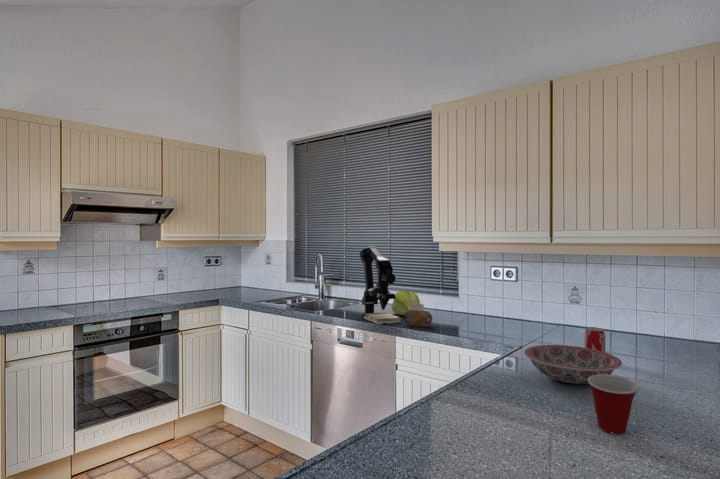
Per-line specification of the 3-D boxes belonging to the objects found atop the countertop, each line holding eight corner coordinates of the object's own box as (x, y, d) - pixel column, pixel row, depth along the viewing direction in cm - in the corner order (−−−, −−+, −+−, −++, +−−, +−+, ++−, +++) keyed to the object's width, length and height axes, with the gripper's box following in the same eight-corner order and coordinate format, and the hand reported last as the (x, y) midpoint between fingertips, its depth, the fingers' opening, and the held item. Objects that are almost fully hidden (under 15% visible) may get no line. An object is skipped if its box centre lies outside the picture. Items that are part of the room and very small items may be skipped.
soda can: (597, 363, 163) (597, 331, 163) (580, 358, 169) (580, 327, 169) (609, 360, 166) (609, 329, 166) (592, 356, 172) (592, 326, 172)
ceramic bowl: (620, 403, 124) (621, 375, 124) (515, 384, 140) (515, 359, 140) (622, 375, 149) (622, 352, 149) (532, 362, 164) (532, 341, 164)
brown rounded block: (403, 325, 232) (403, 309, 232) (406, 324, 235) (406, 308, 235) (430, 328, 225) (430, 311, 225) (432, 326, 228) (432, 310, 228)
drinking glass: (419, 324, 233) (419, 306, 233) (409, 322, 238) (409, 304, 237) (426, 322, 238) (426, 304, 238) (416, 321, 243) (416, 303, 242)
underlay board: (364, 318, 250) (364, 313, 250) (385, 316, 256) (385, 312, 256) (377, 324, 234) (377, 319, 234) (400, 322, 239) (400, 317, 239)
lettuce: (394, 321, 247) (398, 296, 245) (388, 308, 271) (392, 286, 270) (423, 325, 248) (427, 301, 247) (415, 312, 273) (419, 290, 271)
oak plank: (368, 317, 246) (368, 314, 246) (388, 315, 252) (388, 313, 252) (378, 322, 234) (378, 319, 234) (399, 320, 239) (399, 317, 239)
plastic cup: (590, 435, 104) (590, 385, 104) (584, 417, 114) (585, 372, 114) (643, 443, 100) (643, 391, 100) (632, 424, 110) (632, 377, 110)
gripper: (363, 280, 249) (363, 308, 249) (377, 284, 231) (377, 313, 232) (380, 280, 253) (380, 306, 253) (395, 283, 236) (395, 312, 236)
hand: (383, 309), depth 243 cm, fingers closed
